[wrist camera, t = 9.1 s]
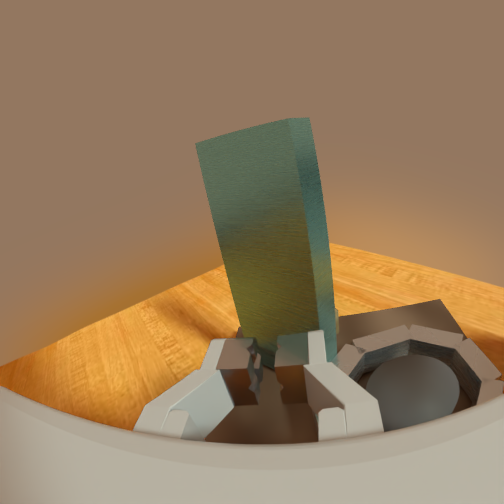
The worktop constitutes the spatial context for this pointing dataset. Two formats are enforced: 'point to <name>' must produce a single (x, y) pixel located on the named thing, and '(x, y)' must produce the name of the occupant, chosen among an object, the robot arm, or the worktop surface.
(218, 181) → the ring with upright panel
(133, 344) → the worktop surface
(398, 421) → the base
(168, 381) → the worktop surface
